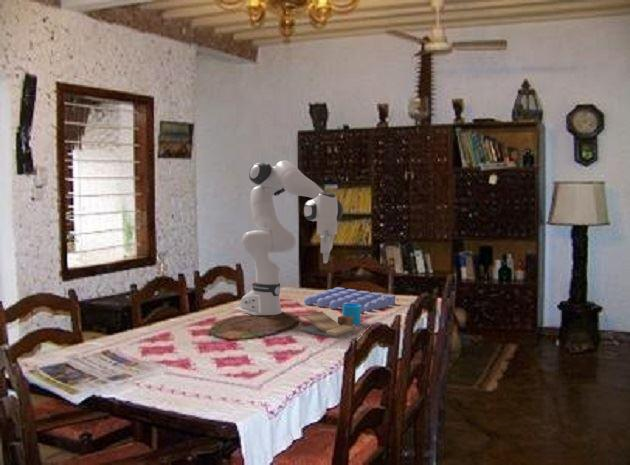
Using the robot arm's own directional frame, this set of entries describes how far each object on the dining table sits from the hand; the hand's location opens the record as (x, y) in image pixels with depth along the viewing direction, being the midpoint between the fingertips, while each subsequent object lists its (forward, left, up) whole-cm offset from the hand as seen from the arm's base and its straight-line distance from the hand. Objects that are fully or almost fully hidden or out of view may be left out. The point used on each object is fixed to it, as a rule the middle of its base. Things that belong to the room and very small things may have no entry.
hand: (326, 261), depth 301 cm
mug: (+6, +15, -29) cm, 33 cm away
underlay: (+6, -8, -29) cm, 30 cm away
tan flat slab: (+4, -8, -25) cm, 27 cm away
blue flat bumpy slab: (-15, +49, -29) cm, 59 cm away
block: (+9, +3, -29) cm, 30 cm away
